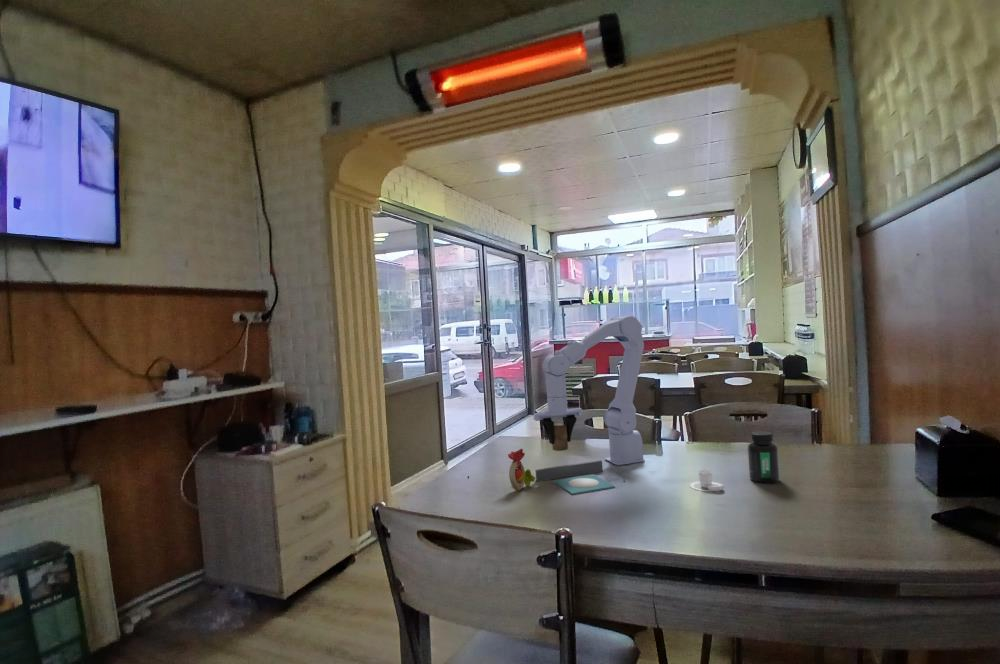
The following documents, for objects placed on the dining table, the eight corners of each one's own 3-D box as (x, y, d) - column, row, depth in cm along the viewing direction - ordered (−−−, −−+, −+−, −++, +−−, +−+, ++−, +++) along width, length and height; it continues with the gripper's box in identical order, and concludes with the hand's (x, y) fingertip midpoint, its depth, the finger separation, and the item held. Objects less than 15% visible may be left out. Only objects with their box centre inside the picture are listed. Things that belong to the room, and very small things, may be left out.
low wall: (601, 470, 150) (600, 460, 150) (602, 471, 149) (602, 460, 149) (536, 480, 144) (535, 469, 144) (537, 481, 144) (536, 470, 143)
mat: (593, 475, 146) (593, 473, 146) (614, 487, 134) (614, 485, 134) (554, 481, 142) (554, 479, 142) (572, 494, 131) (571, 492, 131)
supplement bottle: (772, 485, 127) (769, 437, 127) (744, 480, 133) (742, 433, 133) (784, 479, 132) (781, 432, 132) (757, 474, 137) (754, 429, 137)
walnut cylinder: (564, 446, 155) (562, 422, 155) (570, 449, 151) (568, 425, 151) (550, 448, 154) (548, 424, 154) (556, 451, 150) (554, 427, 150)
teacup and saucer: (728, 494, 125) (727, 477, 125) (693, 494, 126) (692, 477, 126) (720, 483, 133) (719, 467, 133) (687, 483, 135) (686, 467, 135)
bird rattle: (529, 499, 135) (538, 476, 143) (521, 466, 131) (530, 444, 139) (507, 498, 138) (517, 476, 145) (498, 465, 133) (509, 444, 141)
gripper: (573, 392, 158) (576, 436, 158) (529, 397, 154) (532, 442, 154) (583, 394, 151) (587, 441, 151) (537, 400, 147) (540, 447, 147)
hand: (559, 442), depth 152 cm, fingers closed on walnut cylinder, 4 cm apart
